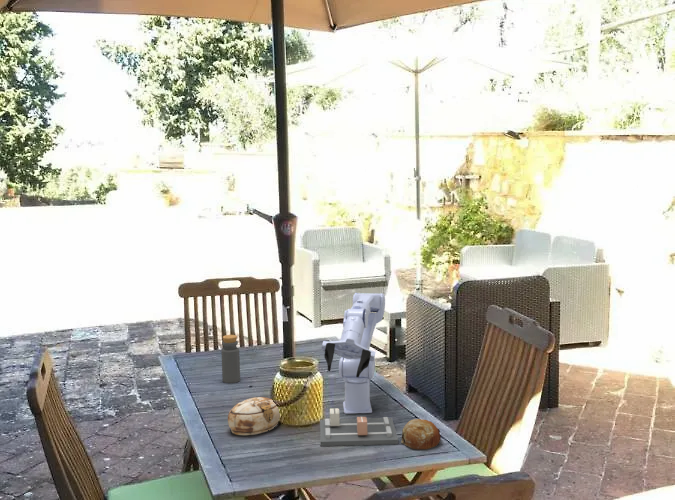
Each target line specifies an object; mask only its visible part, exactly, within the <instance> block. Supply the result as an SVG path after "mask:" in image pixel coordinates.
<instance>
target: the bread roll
mask: <svg viewBox="0 0 675 500" xmlns="http://www.w3.org/2000/svg"><path fill="white" fill-rule="evenodd" d="M440 432H441V429H439V428H438V427H437V426H436V425H435V424H434V423H433V422H432V421H430V420H428V419H423V418H422V419H420V418H414V419H411V420H409V421H408V422H407V423H406V424H405V425H404V426H403V428H402V431H401V441H400V444H403V445H404V446H406V447H409V448H410V449H412V450H428V449H432V448H435V447H437V446H438V445H439V444H440V441H441V439H442V437H441V433H440Z"/></svg>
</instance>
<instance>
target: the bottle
mask: <svg viewBox="0 0 675 500" xmlns="http://www.w3.org/2000/svg"><path fill="white" fill-rule="evenodd" d="M237 339H238V336H237V335H235V334H226V335H223V336H222V340H223V341H222V342H221V345H222V346H223V348H222V349H221V352H220V353H221V355H220V356H221V372H222V374H221V376H222V377H221V378H222V382H223V383H225V384H235V383H238V382H240V381H241V364H240V362H241V361H240V360H241V359H240V349H239V347H237V346H238V344H239V343H238V340H237Z"/></svg>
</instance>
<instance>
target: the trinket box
mask: <svg viewBox="0 0 675 500" xmlns="http://www.w3.org/2000/svg"><path fill="white" fill-rule="evenodd" d="M273 400H274V399H273ZM273 400H272V398H269V397H265V396H264V397H263V396H257V397H250V398H247V399H245V400H242V401H240V402H238V403H237V404H235V405H234V406H233V407H232V408H231V409H230V410H229V412H228V415H227V425H228V426H229V428H230V430H231V433H232V434H234V435H236V436H254V435H258V434H262V433H263V434H264V433H265V432H269V431H271V430H273V429H275V428H276V427H277V426H278V425H279V421H280V419H279V418H281V416H280V413H279V409H278V407H277V406H276V404H275V403H274V402H273ZM277 424H278V425H277ZM276 425H277V426H276ZM275 426H276V427H275ZM274 427H275V428H274ZM268 430H269V431H268Z"/></svg>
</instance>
